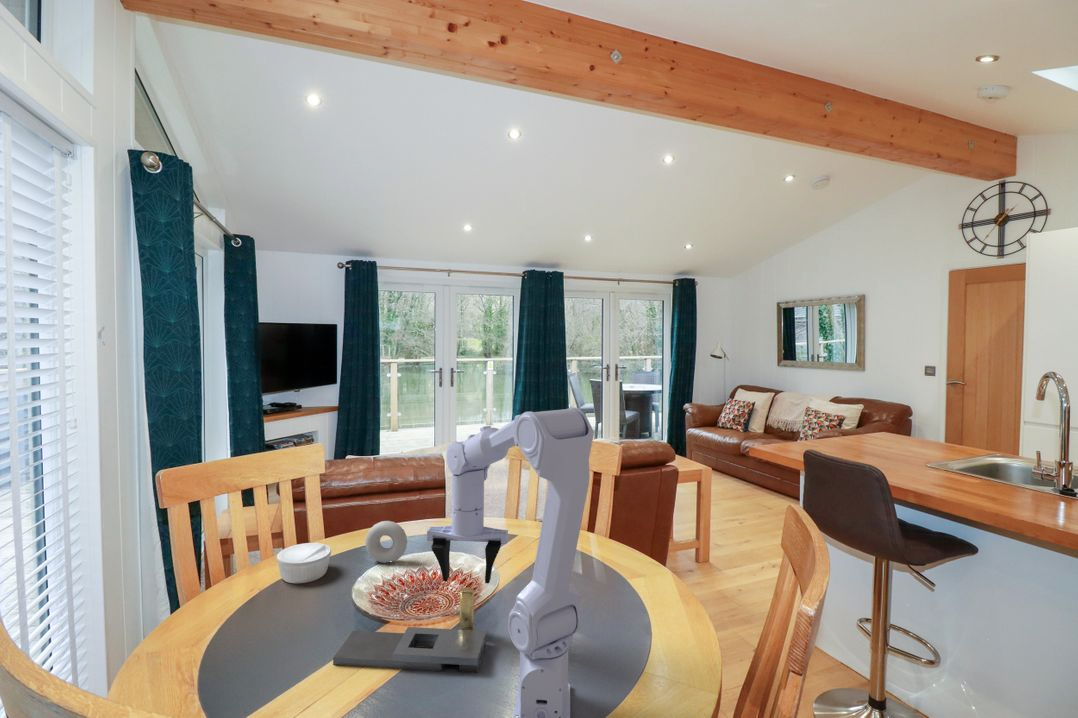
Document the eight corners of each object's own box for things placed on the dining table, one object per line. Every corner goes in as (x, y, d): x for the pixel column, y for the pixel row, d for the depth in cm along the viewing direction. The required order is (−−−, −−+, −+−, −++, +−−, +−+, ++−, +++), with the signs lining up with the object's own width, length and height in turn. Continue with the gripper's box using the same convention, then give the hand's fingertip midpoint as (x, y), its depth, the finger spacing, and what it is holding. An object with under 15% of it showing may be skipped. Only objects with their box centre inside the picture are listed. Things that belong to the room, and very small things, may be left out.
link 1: (440, 670, 86) (441, 663, 86) (333, 664, 87) (333, 657, 87) (452, 642, 94) (452, 635, 94) (353, 637, 95) (353, 630, 95)
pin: (472, 637, 95) (472, 594, 95) (457, 637, 95) (458, 593, 95) (474, 629, 98) (475, 587, 97) (460, 629, 98) (461, 587, 98)
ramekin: (331, 582, 116) (331, 558, 116) (274, 590, 112) (274, 565, 112) (331, 561, 126) (331, 539, 126) (279, 568, 122) (279, 545, 122)
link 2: (477, 672, 85) (477, 658, 85) (392, 668, 86) (392, 653, 86) (485, 644, 93) (485, 630, 93) (407, 640, 94) (407, 626, 94)
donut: (409, 560, 127) (409, 519, 127) (404, 566, 124) (404, 524, 124) (368, 558, 128) (368, 518, 128) (363, 564, 125) (363, 523, 124)
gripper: (510, 501, 99) (509, 571, 100) (434, 498, 100) (433, 568, 101) (505, 513, 92) (504, 589, 93) (423, 510, 93) (423, 585, 94)
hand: (467, 579), depth 96 cm, fingers open, 7 cm apart
